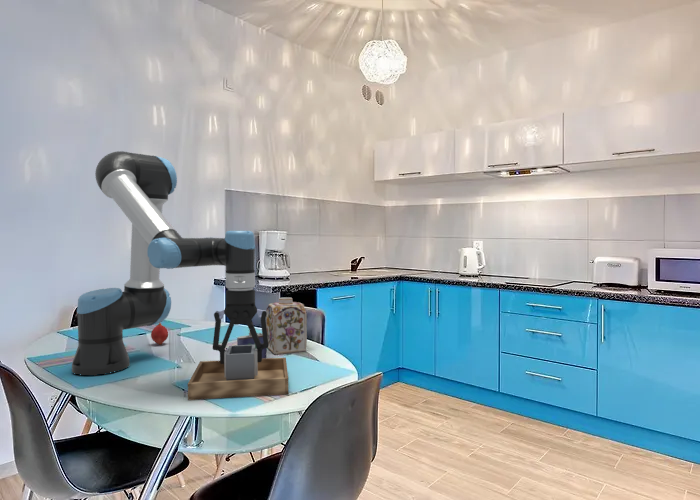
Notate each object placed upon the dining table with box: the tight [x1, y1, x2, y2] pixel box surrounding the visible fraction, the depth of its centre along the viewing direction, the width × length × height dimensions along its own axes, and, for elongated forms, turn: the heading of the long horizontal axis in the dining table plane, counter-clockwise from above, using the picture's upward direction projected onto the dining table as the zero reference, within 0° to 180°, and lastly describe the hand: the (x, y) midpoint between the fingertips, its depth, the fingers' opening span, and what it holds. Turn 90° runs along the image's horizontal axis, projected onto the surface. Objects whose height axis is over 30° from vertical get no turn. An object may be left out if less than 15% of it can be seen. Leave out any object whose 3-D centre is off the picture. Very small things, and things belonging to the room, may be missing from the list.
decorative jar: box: [265, 296, 308, 355], centre depth 161 cm, size 12×12×18 cm
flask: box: [236, 330, 268, 359], centre depth 143 cm, size 9×3×11 cm, turn 121°
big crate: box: [187, 357, 289, 401], centre depth 124 cm, size 24×20×4 cm
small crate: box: [226, 344, 255, 381], centre depth 124 cm, size 7×10×7 cm
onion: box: [150, 322, 169, 346], centre depth 169 cm, size 6×6×8 cm
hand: (241, 374), depth 124 cm, fingers closed on small crate, 7 cm apart
